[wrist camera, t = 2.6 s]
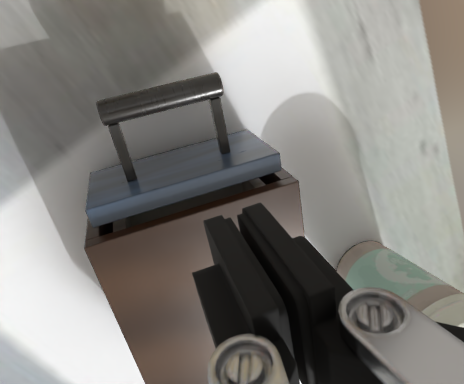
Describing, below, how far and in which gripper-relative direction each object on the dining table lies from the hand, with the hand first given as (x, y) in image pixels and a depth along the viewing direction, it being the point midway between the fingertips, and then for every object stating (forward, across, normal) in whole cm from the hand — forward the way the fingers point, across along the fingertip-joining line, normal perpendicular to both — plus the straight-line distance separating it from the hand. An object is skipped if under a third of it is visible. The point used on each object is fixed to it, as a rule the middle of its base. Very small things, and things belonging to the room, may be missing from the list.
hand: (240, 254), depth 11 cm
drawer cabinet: (+17, 0, +11) cm, 20 cm away
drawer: (+16, 0, +6) cm, 17 cm away
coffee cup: (+17, -15, +19) cm, 30 cm away
